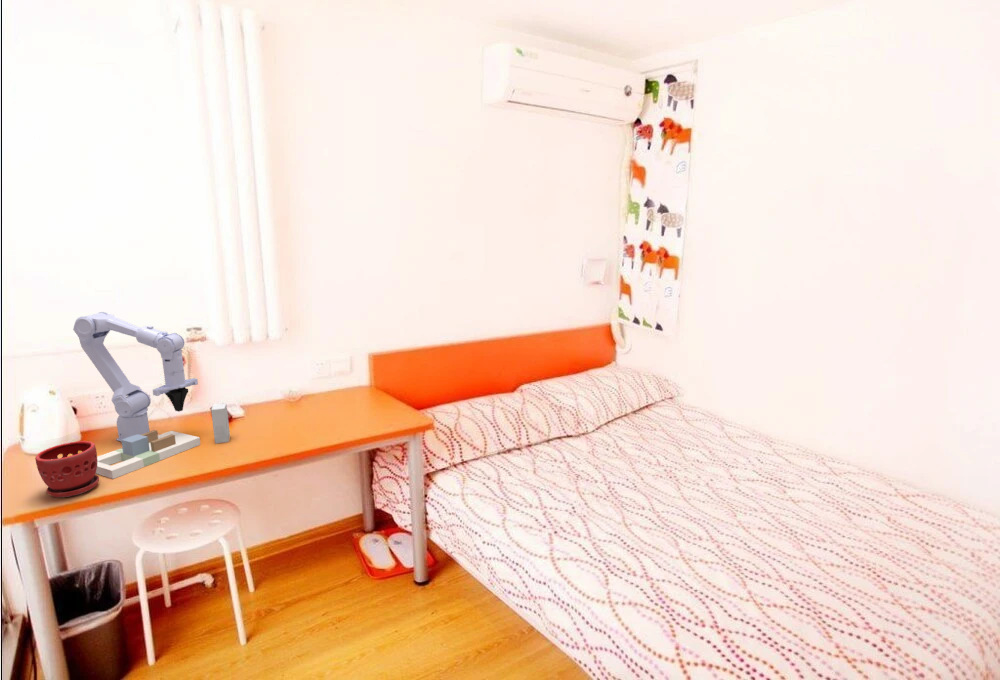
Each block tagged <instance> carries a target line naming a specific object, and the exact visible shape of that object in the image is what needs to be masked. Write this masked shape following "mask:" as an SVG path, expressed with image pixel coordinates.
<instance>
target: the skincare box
mask: <svg viewBox="0 0 1000 680" xmlns="http://www.w3.org/2000/svg"><path fill="white" fill-rule="evenodd" d="M210 413H211V421H212V428H213V438H214V444H221V443H222V444H224V443H229V441H230V437H231V433H230V431H231V430H230V425H229V415H228V406H227V403H226V402H225V403H223V402H222V403H213V404H212V406H211V411H210Z"/></svg>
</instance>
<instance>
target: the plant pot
mask: <svg viewBox="0 0 1000 680" xmlns="http://www.w3.org/2000/svg"><path fill="white" fill-rule="evenodd" d="M59 455H62V457H60V458H59V457H58V456H59ZM97 457H98V453H97V448H96V444H95V442H92V441H89V440H88V441H87V440H81V441H80V440H79V441H71V442H70V441H69V442H67V443H61V444H57V445H54V446H52V447H48V448H46V449H44V450H42V451H40V452H39V453H37V455H35V458H34V459H35V464H36V468H37V471H38V473H39V475H40V477H41V480H42V481H43V483H44V484H45V485H46V486H47V488H46V493H47V494H48V495H49V496H51V497H54V498H64V497H66V498H68V497H73V496H77V495H81V494H83V493H87V492H88V491H91V489H94V488H95V487H96V486H97V485H98V483H99V481H100V475H98V474H96V470H97Z"/></svg>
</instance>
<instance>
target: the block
mask: <svg viewBox="0 0 1000 680" xmlns="http://www.w3.org/2000/svg"><path fill="white" fill-rule="evenodd" d="M120 442H121V448H122V449H123V454H127V455H130V456H136V455H139V454H141V453H144V452H147V451H150V450H149V442H148V437H147V436H143V435H139V434H137V435H134V436H131V437H128V438H125V439H122V440H121V441H120Z"/></svg>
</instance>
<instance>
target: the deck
mask: <svg viewBox="0 0 1000 680" xmlns="http://www.w3.org/2000/svg"><path fill="white" fill-rule="evenodd" d="M141 435H143V436H147V437H148V442H149V450H150V451H147V452H144V453H141V454H139V455H136V456H130V455H127V454H123V449H122V447H121V448H118V449H115V450H112V451H110V452H106V453H105V454H100V455H97V470H96V473H95V475H98V476H103V477H105V478H109V479H111V480H114V479H116V478H119V477H121V476H124V475H127V474H129V473H133V472H134V471H137V470H139V469H141V468H144V467H147V466H149V465H153V464H154V463H157V462H160V461H162V460H165V459H167V458H170V457H172V456H175V455H177V454H180V453H182V452H185V451H188V450H190V449H192V448H196V447H198V446H200V445H201V444H202V443H201V439H200V437H199V436H196V435H195V436H194V435H191V434H187V433H184V432H183V433H182V432H180V431H175V430H170V431H167V432H163V433H162V434H158V430H155V429H153V430H150V432H147V433H144V434H141Z"/></svg>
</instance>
